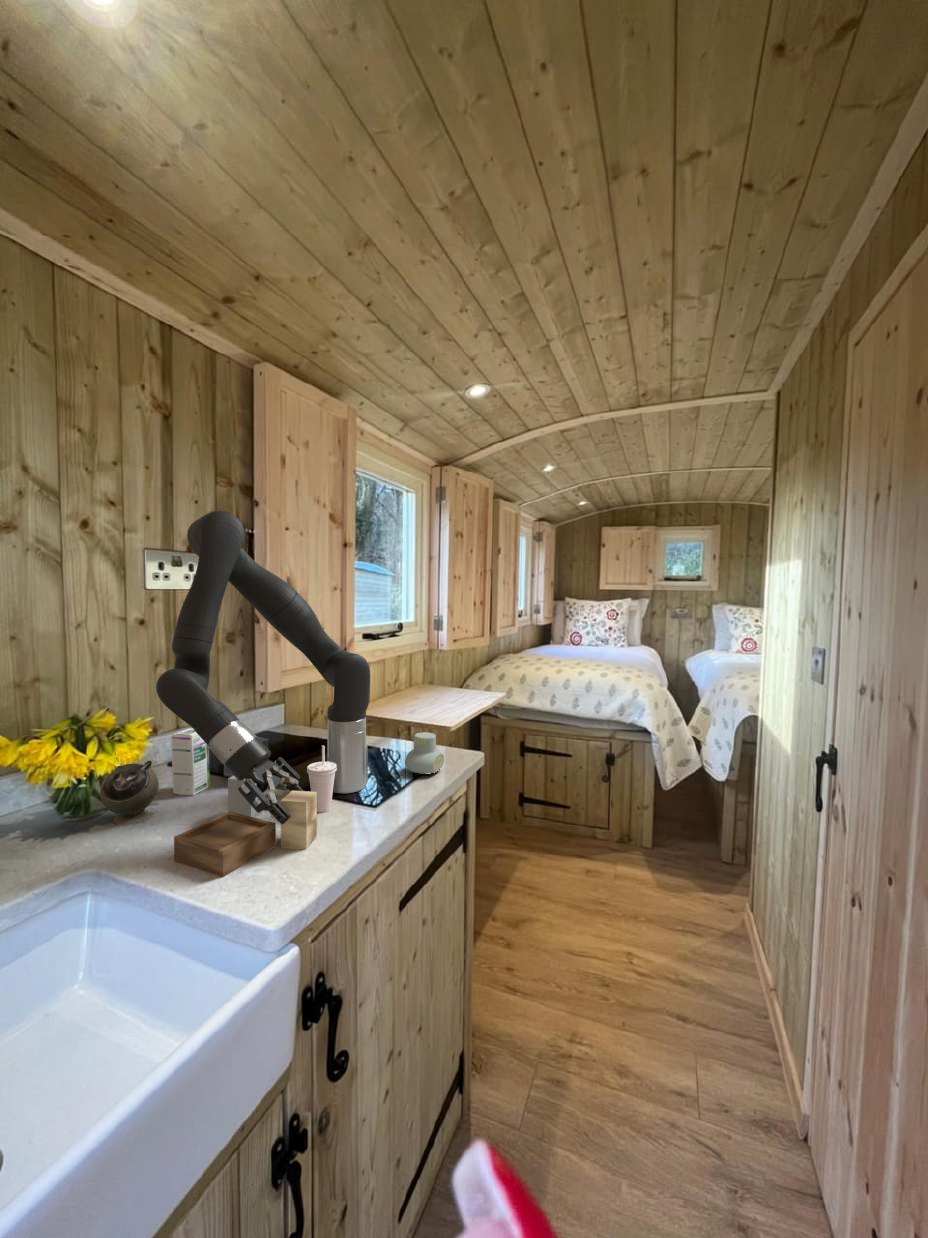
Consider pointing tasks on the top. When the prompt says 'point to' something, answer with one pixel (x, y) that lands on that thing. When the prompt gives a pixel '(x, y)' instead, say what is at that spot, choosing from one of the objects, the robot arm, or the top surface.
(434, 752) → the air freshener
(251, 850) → the walnut tray
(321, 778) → the smoothie
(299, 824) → the oak block
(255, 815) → the grey block
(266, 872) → the top surface
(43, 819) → the top surface
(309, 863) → the top surface
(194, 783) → the syrup box
